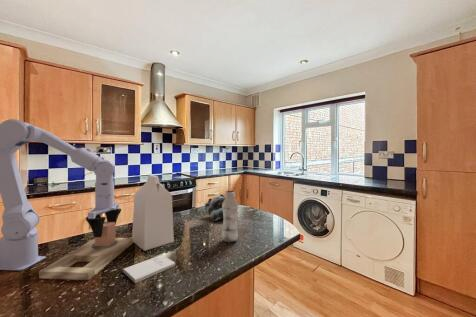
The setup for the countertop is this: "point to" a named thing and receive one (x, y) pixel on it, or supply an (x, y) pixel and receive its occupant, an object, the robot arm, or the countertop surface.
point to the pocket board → (85, 260)
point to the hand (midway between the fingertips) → (104, 232)
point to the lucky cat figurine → (215, 207)
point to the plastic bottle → (230, 217)
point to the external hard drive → (148, 268)
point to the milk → (152, 215)
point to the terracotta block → (106, 235)
